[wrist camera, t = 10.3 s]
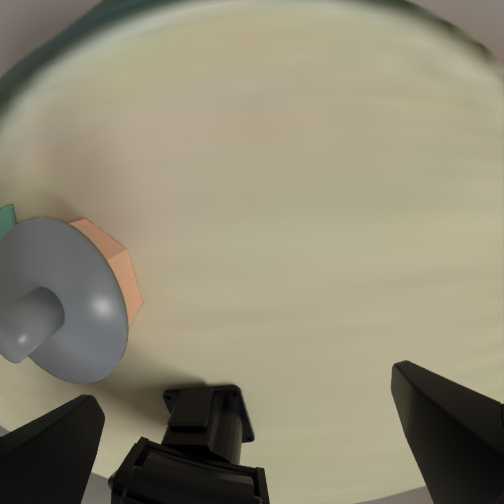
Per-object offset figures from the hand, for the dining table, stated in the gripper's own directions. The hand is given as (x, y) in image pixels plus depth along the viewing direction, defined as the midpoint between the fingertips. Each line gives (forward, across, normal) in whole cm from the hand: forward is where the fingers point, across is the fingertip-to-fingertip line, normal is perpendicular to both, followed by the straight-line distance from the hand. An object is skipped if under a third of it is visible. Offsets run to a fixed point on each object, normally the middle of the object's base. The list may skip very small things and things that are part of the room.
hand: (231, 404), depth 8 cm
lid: (+8, +13, -1) cm, 16 cm away
